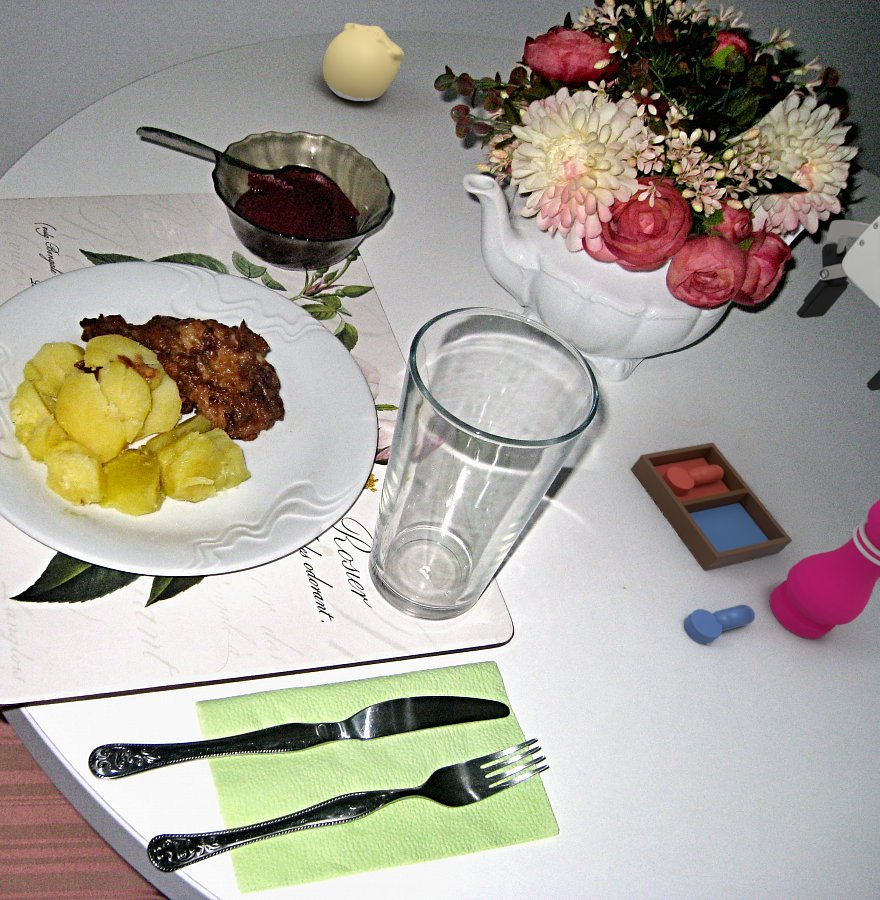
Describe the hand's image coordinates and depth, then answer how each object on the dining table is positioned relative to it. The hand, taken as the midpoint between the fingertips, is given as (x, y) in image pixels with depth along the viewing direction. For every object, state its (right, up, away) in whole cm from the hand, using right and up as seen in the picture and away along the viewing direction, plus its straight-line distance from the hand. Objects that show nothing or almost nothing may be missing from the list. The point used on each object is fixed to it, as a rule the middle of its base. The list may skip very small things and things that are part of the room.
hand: (842, 350), depth 83 cm
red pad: (-6, -14, +19) cm, 24 cm away
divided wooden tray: (-5, -16, +17) cm, 24 cm away
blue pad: (-4, -19, +15) cm, 24 cm away
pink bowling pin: (+2, -27, +10) cm, 28 cm away
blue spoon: (-9, -27, +7) cm, 29 cm away
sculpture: (-40, +50, +66) cm, 93 cm away
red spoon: (-6, -13, +19) cm, 24 cm away
